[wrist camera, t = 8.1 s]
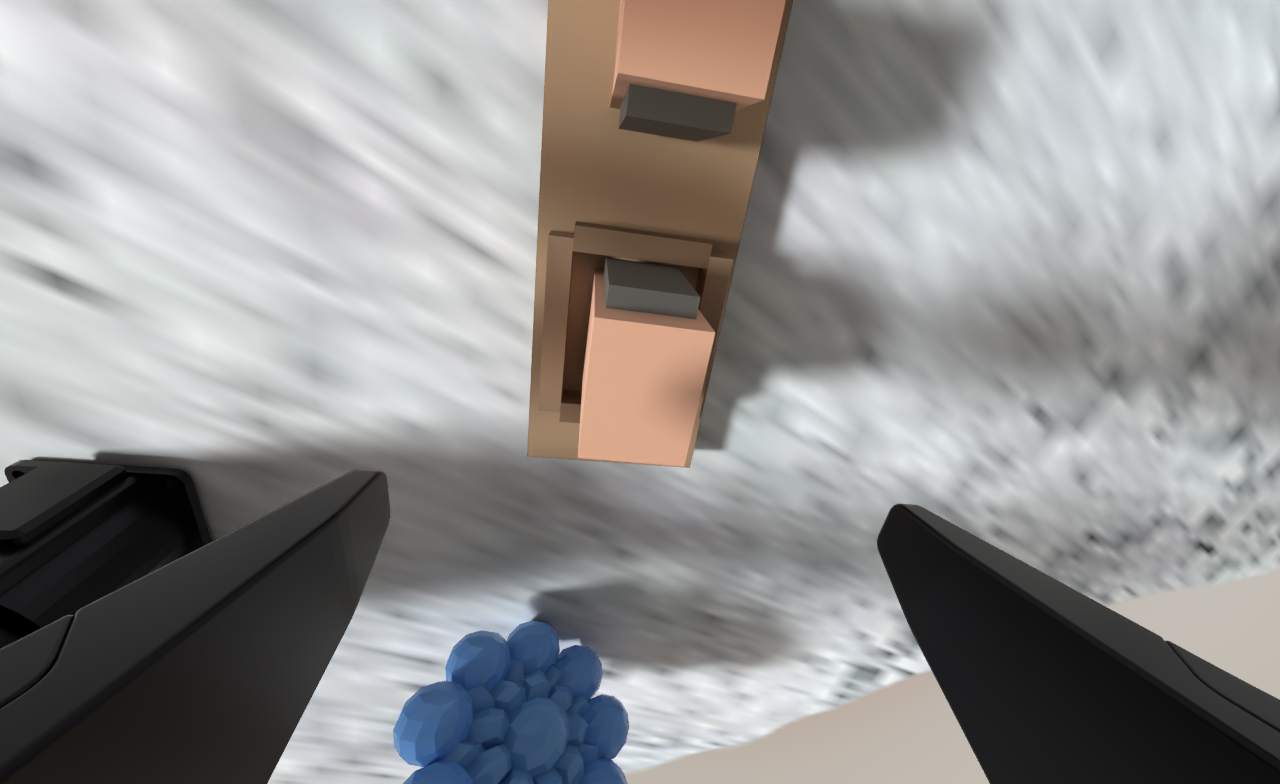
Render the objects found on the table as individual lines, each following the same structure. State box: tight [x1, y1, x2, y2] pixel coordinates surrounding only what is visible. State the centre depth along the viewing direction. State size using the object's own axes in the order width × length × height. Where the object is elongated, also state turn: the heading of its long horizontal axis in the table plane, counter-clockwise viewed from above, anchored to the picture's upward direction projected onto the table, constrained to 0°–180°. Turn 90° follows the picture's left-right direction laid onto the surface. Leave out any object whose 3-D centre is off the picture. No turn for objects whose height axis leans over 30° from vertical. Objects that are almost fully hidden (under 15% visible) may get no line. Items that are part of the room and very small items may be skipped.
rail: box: [527, 0, 793, 468], centre depth 14 cm, size 20×7×8 cm, turn 172°
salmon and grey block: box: [578, 257, 715, 467], centre depth 15 cm, size 5×3×6 cm, turn 171°
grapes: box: [393, 621, 629, 784], centre depth 21 cm, size 12×7×12 cm, turn 50°
